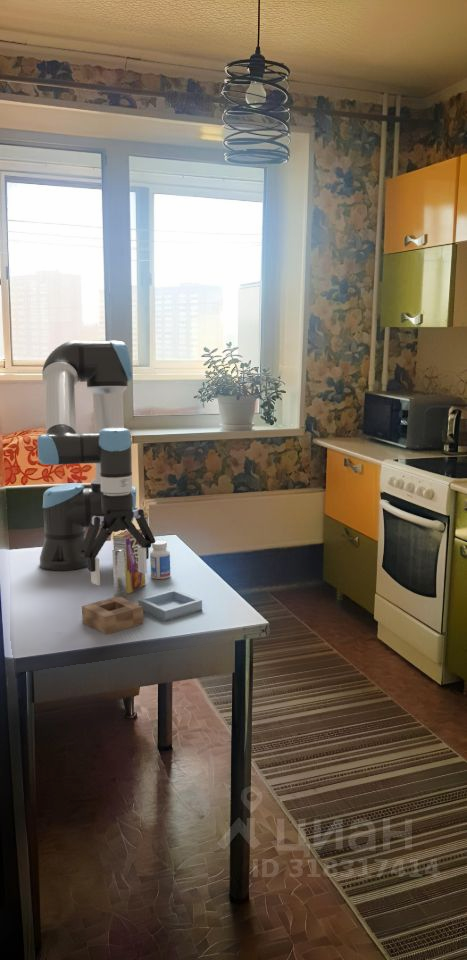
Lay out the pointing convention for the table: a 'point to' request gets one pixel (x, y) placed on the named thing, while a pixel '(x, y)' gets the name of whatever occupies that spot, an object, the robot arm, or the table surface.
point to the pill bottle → (160, 560)
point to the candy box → (130, 560)
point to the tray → (170, 605)
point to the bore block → (112, 614)
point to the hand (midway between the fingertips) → (119, 578)
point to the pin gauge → (119, 573)
